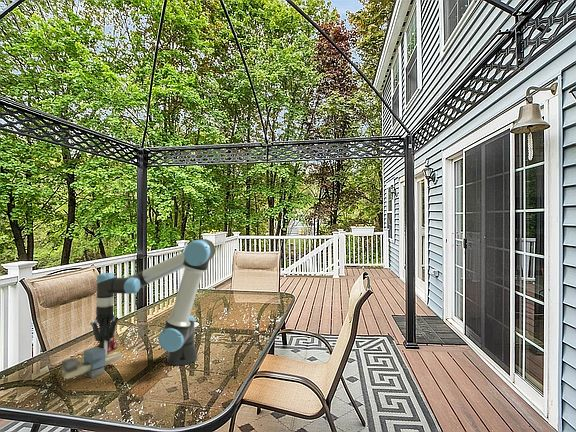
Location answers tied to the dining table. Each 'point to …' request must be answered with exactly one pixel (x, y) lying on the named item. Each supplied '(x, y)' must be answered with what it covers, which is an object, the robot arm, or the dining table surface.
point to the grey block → (95, 357)
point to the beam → (86, 367)
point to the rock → (80, 361)
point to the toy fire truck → (111, 344)
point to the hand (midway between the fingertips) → (104, 354)
